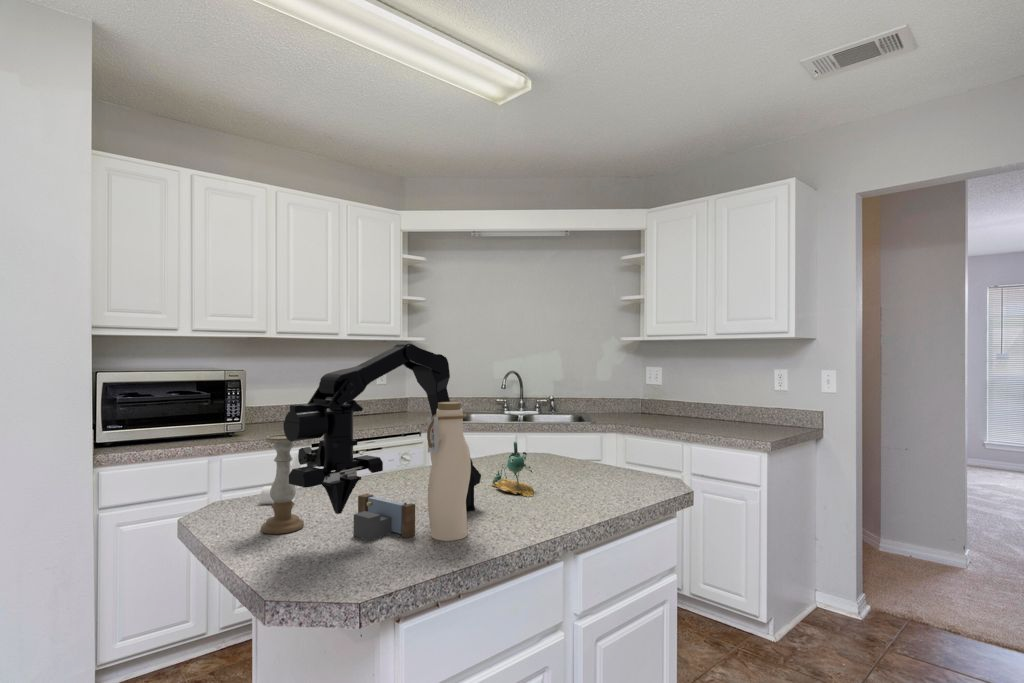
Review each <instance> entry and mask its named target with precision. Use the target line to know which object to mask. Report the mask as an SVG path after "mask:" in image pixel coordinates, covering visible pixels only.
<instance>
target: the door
mask: <svg viewBox="0 0 1024 683" xmlns="http://www.w3.org/2000/svg"><path fill="white" fill-rule="evenodd" d="M403 505H404V503H402V502H397V501H393V500H389V499H386V498H385V499H384V498H380V497H376V496H374V497H369V498H368V502H367V506H368V512H371V513H375V514H380V515H384V516H388V517H391V532H392V533H393V532H394V533H397V534H400V535H402V506H403Z"/></svg>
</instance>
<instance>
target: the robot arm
mask: <svg viewBox="0 0 1024 683" xmlns="http://www.w3.org/2000/svg"><path fill="white" fill-rule="evenodd" d="M401 366H404V367H405V368H406V369H409V370H411V371H412V372H413V375H414V377H415V380H416V382H417V383H418V385H419V386H420V388H422V389H423V390H424V392H425V394H426V396H427V401H428V404H429V409H430V412H431V417H433V416H434V415H435V414H436V412H437V409H438V403H439V402H451V401H450V397H449V392H448V384H449V381H450V378H451V372H450V364H449V360H448V357H446V356H444V355H442V354H439V353H434V352H432V351H429V350H426V349H423V348H420V347H419V346H416V345H415V344H412V343H408V342H407V343H396V344H395V345H394V346H393V347H392V348H390V349H387V350H386V351H384V352H382V353H380V354H378V355H375V356H374V357H372V358H370V359H367V360H366V361H364V362H362V363H360V364H358V365H356V366H353V367H350V368H349V367H348V368H343V369H339V370H335V371H331V372H328V373H325V374H324V375H323V376H321V378H320V380H319V383H318V387H317V389H316V390H315V391H314V393H313V395H312V396H311V398H310V399H309V401H308V402H307V404H290V405H289V411H288V412H287V414H286V416H285V417H284V421H283V432H284V433H283V434H285V436H286V438H287V439H288V440H289V441H291V442H293V441H296V442H300V441H306V440H307V441H308V440H313V439H320V440H319V442H318V448H316V449H315V448H314V449H312V447H311V446H306V447H301V448H298V453H297V454H298V459H299V463H300V464H301V466H302V465H306V466H302V467H301V466H300V468H296V469H292V471H291V472H290V474H289V484H292V485H296V486H297V487H300V488H304V489H305V488H312V487H316V486H321V487H323V488H324V489H325V491H326V493H327V496H328V497H329V502H330V504H331V505H332V506H331V507H332V508H333V511H334V513H335V514H337V515H339V514H343V511H344V509H345V506H346V505H347V502H348V501H349V498H350V496H351V494H352V492H353V491H354V489H355V488H356V485H357V483H358V481H361V480H362V476H359V475H358V472H359V471H363V470H367V469H368V471H369V472H370V474H371V473H372V474H375V473H379V472H383V471H384V462H383V460H382V459H381V457H379V456H373V455H367V454H366V455H361V456H355V457H354V446H358V440H357V439H354V413H355V412H357V413H358V412H362V411H363V409H364V408H363V407H362V406H361V405H359V404H358V402H357V401H356V400H355V399H356V398H357V397H359V396H360V395H361V394H362V393H363V392H364V391H365V390H366V388H367V386H368V385H370V384H371V383H372V382H375V380H378V379H379V378H381V377H383V376H385V375H387V374H389V373H391V372H392V371H394V370H396V369H398V368H399V367H401ZM321 437H323V439H322V440H321ZM293 443H294V442H293ZM470 459H471V473H470V480H469V486H468V492H467V497H466V511H475V510H476V505H475V486H477V485H479V484H480V483H481V479H482V474H481V473H480V471H479V470H478V469H477V468H476V466H474V463H473V460H472V458H471V456H470ZM321 467H322V468H321Z"/></svg>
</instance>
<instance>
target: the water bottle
mask: <svg viewBox="0 0 1024 683" xmlns="http://www.w3.org/2000/svg"><path fill="white" fill-rule="evenodd" d="M463 412H464V410H463V408H462V402H460V401H450V402H439V403H438V409H437V412H436V414H435V415H434V416H433V417H432V416H430V417H429V416H427V433H426V439H427V453H430V462H431V467H430V471H429V476H428V484H427V508H428V510H427V512H428V519H429V525H430V536H431V538H433V539H434V540H436V541H442V542H444V541H445V542H446V541H447V542H451V541H457V540H462V539H464V538H466V537H467V536H468V519H467V517H468V516H467V510H466V497H467V492H468V486H469V480H470V473H471V460H472V458H471V459H470V457H471V452H470V447H469V445H468V443H467V441H466V439H465V436H464V419H465V418H467V417H468V415H467V414H466V413H463Z"/></svg>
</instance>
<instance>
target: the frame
mask: <svg viewBox="0 0 1024 683" xmlns="http://www.w3.org/2000/svg"><path fill="white" fill-rule="evenodd" d="M369 497H375V496H374V494H371V493H363V494H359V495H357V513H360V512H364V511H367V512H368V506H367V502H368V498H369ZM403 504H404V505H403V506H402V534H401V537H402V538H404V537H405V539H408V537H409V538H411V537H414V536H416V504H415V503H411V502H410V503H407V502H404V503H403Z"/></svg>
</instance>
